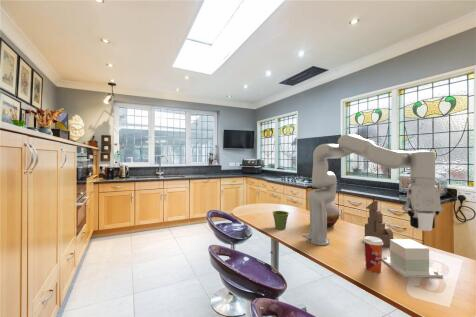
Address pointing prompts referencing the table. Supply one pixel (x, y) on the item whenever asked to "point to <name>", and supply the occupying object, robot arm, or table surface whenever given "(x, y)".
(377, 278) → the table surface
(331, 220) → the jug
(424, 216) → the white cylinder
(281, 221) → the plant pot
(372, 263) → the paper cup
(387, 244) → the wooden toy
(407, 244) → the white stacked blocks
